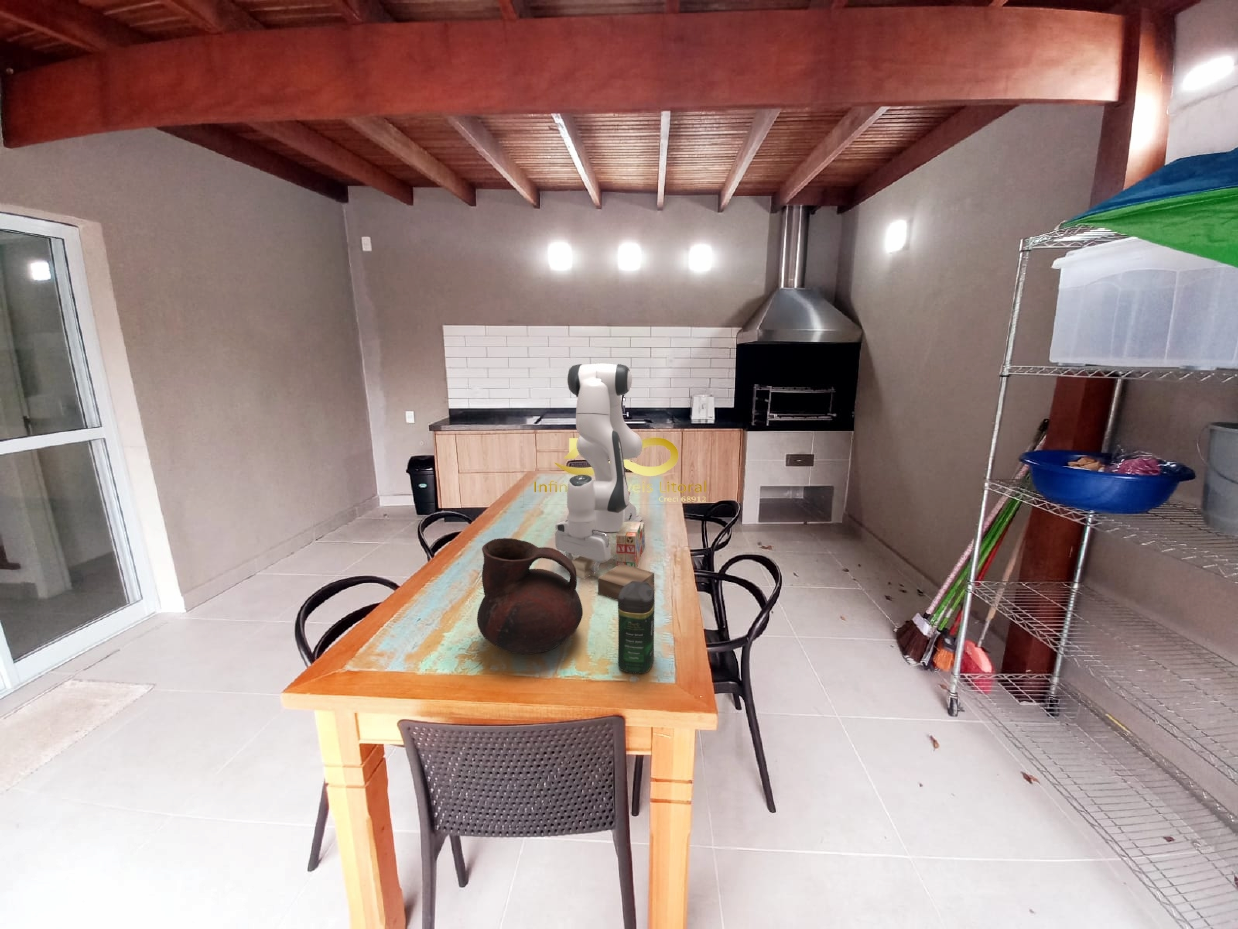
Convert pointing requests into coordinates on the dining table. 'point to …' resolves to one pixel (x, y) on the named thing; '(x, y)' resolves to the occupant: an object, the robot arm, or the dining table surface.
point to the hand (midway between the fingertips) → (583, 568)
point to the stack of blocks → (630, 543)
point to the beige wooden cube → (583, 566)
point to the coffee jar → (636, 627)
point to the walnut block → (622, 579)
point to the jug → (526, 598)
